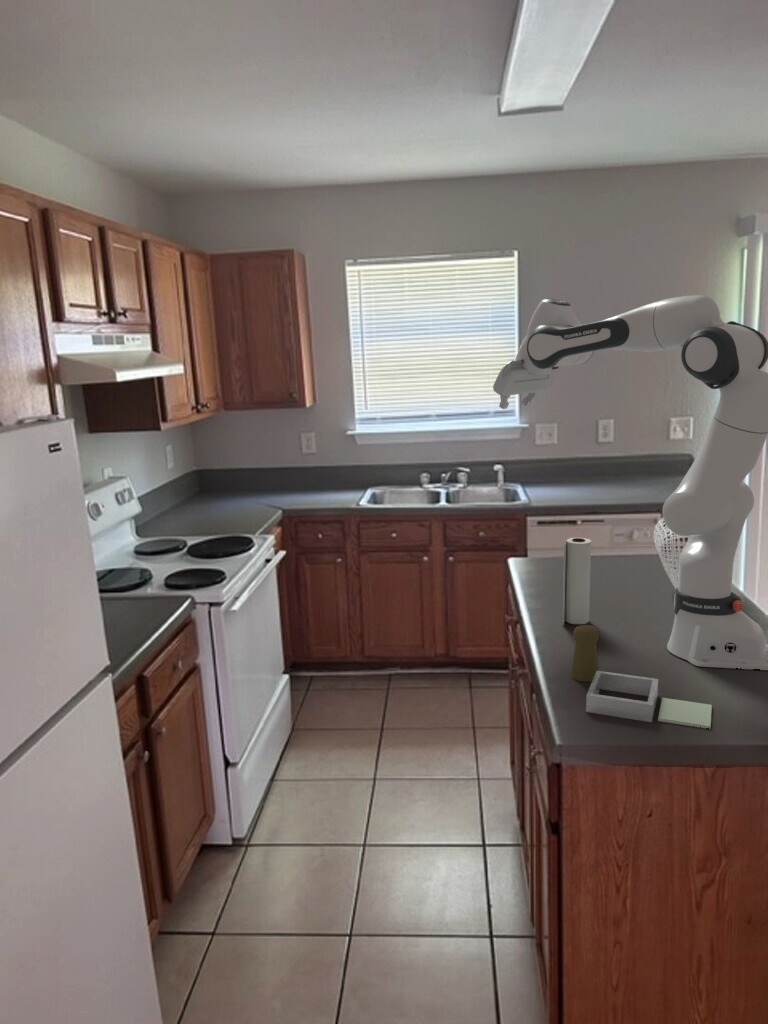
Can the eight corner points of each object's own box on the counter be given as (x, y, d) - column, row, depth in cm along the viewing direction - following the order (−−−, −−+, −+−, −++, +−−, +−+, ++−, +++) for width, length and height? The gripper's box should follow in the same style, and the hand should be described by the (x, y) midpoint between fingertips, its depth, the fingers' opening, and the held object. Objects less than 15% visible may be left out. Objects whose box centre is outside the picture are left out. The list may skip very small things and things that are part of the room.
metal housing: (657, 695, 153) (658, 679, 152) (651, 722, 142) (652, 705, 142) (595, 686, 158) (596, 670, 157) (586, 711, 147) (586, 695, 147)
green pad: (711, 707, 147) (711, 704, 147) (710, 729, 139) (710, 726, 139) (662, 700, 151) (662, 697, 151) (658, 720, 143) (658, 717, 143)
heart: (723, 614, 196) (729, 530, 191) (659, 611, 200) (663, 528, 195) (705, 581, 222) (709, 507, 218) (649, 579, 226) (652, 506, 221)
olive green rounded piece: (594, 669, 166) (596, 621, 164) (603, 681, 160) (604, 631, 158) (567, 670, 166) (567, 622, 164) (574, 682, 160) (575, 632, 158)
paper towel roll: (586, 616, 198) (588, 536, 193) (591, 625, 192) (593, 542, 187) (558, 617, 198) (559, 537, 193) (562, 625, 192) (564, 543, 188)
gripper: (516, 367, 189) (496, 415, 196) (566, 362, 202) (546, 408, 209) (498, 355, 192) (480, 403, 200) (548, 351, 205) (529, 397, 213)
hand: (514, 406), depth 205 cm, fingers open, 8 cm apart
